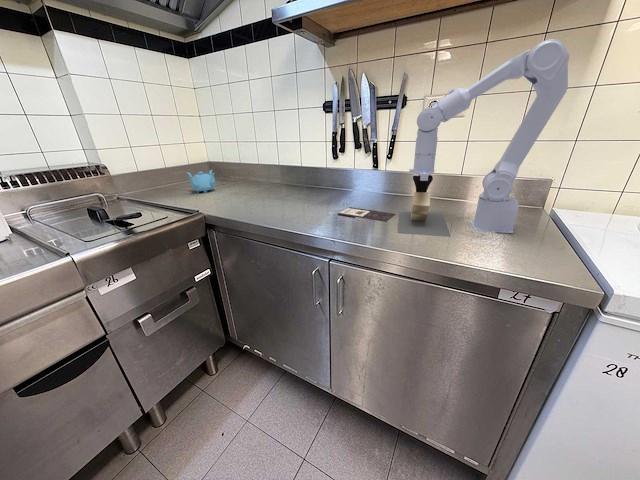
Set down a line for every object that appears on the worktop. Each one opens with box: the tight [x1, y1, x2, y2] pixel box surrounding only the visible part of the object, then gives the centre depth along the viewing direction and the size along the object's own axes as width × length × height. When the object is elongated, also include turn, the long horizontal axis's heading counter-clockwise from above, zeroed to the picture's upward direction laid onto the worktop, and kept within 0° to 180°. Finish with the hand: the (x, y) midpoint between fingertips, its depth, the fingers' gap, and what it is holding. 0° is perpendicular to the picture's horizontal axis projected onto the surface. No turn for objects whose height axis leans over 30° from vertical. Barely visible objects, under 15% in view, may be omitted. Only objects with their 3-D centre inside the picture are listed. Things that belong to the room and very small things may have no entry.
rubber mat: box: [397, 211, 452, 238], centre depth 83 cm, size 14×20×1 cm
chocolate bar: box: [337, 206, 396, 223], centre depth 93 cm, size 9×1×18 cm
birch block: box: [410, 191, 431, 221], centre depth 81 cm, size 4×4×9 cm
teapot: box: [186, 169, 216, 194], centre depth 138 cm, size 13×13×10 cm
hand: (420, 199), depth 83 cm, fingers closed
